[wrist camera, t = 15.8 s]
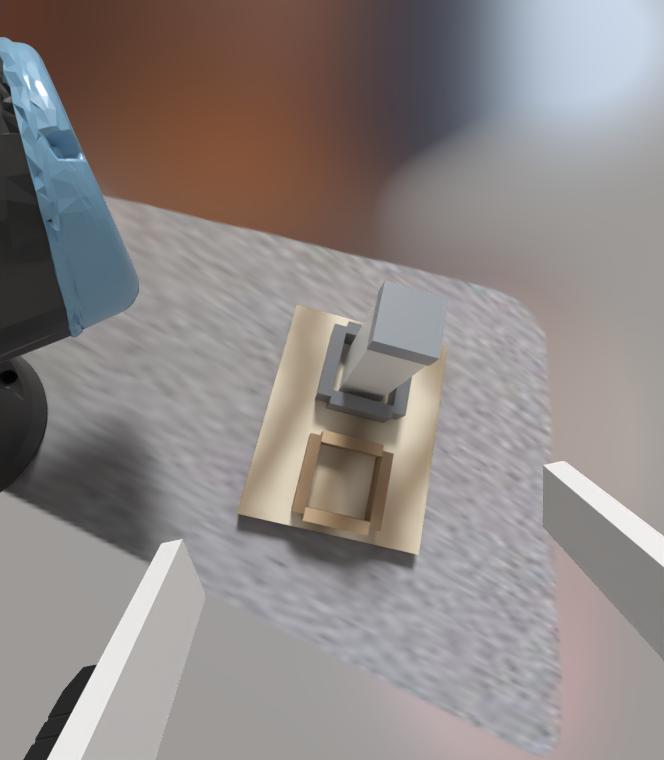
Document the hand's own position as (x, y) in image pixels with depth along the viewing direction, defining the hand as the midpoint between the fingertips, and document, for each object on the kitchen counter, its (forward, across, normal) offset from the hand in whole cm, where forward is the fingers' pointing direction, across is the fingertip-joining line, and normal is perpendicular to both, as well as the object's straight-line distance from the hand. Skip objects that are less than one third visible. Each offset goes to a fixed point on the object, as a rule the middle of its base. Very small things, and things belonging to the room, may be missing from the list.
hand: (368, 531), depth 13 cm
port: (+22, +4, -2) cm, 22 cm away
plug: (+22, +3, -2) cm, 22 cm away
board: (+20, +1, -5) cm, 21 cm away
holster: (+16, -1, -9) cm, 19 cm away
